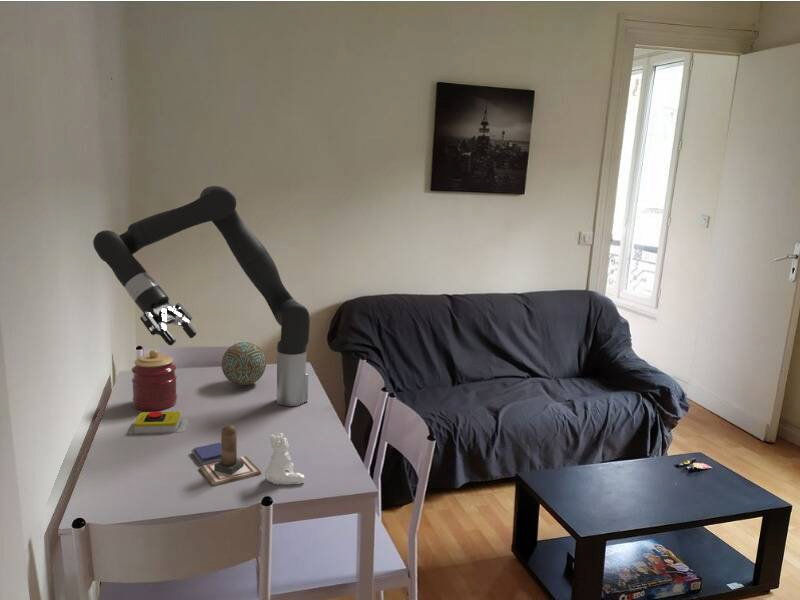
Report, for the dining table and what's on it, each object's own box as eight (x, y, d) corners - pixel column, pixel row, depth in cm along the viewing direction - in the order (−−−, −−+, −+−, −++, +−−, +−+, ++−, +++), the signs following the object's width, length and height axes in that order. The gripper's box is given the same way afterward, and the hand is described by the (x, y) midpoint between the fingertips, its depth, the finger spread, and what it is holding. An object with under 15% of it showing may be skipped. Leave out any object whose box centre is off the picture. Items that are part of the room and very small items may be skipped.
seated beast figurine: (307, 484, 146) (308, 437, 144) (273, 492, 142) (273, 444, 139) (291, 467, 154) (292, 423, 152) (258, 475, 149) (258, 429, 147)
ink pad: (221, 446, 164) (221, 441, 163) (232, 458, 157) (232, 452, 157) (191, 453, 159) (191, 447, 159) (201, 465, 153) (201, 459, 152)
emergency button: (134, 408, 177) (188, 406, 180) (135, 422, 178) (188, 420, 181) (127, 420, 168) (184, 419, 171) (127, 435, 169) (184, 433, 172)
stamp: (226, 462, 153) (226, 420, 151) (243, 466, 152) (243, 423, 150) (214, 470, 149) (214, 427, 146) (231, 474, 147) (231, 430, 145)
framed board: (245, 458, 158) (245, 454, 158) (261, 474, 150) (261, 470, 150) (199, 468, 151) (199, 465, 151) (212, 486, 143) (212, 482, 143)
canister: (150, 415, 182) (148, 358, 179) (123, 405, 189) (121, 350, 186) (186, 402, 193) (185, 349, 190) (159, 393, 200) (158, 342, 197)
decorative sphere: (266, 390, 208) (266, 348, 205) (220, 392, 204) (220, 349, 201) (265, 376, 222) (265, 337, 219) (222, 377, 218) (222, 337, 216)
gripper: (135, 288, 155) (174, 337, 154) (172, 280, 169) (208, 325, 167) (119, 306, 158) (157, 355, 157) (157, 297, 171) (192, 341, 170)
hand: (183, 339), depth 162 cm, fingers open, 8 cm apart
